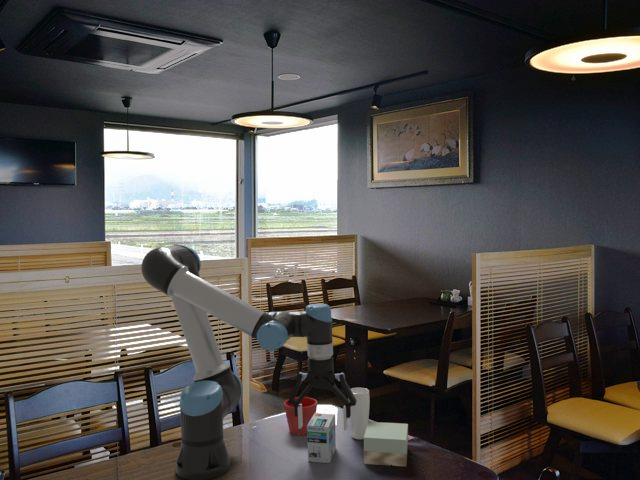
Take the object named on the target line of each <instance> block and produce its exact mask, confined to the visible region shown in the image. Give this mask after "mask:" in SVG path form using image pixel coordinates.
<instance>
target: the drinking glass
mask: <svg viewBox="0 0 640 480" xmlns="http://www.w3.org/2000/svg"><path fill="white" fill-rule="evenodd" d="M350 389H351V391H352V393H353V395H354V397H355V398H356V401H357V402H356V405H355V406H351V416H350V418H349V423H350V436H351V438H353V439H355V440H364V435H365V432H366V428H367V425H368V422H369V418H370V417H369V416H370V404H371V403H370V390H369V389H368V388H365V387H352V388H350ZM347 399H348V400H349V398H348V397H347ZM349 401H350V400H349Z"/></svg>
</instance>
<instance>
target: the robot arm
mask: <svg viewBox="0 0 640 480" xmlns="http://www.w3.org/2000/svg"><path fill="white" fill-rule="evenodd" d="M201 263H202V262H201V259H200V256H199V254H198V252H197V251H195V250H194V249H193V248H192V247H190V246H187V245H185V244H184V245H182V244H173V245H168V246H162V247H161V246H159V247H156V248H153V249H151V250H150V251H148V252H147V253H146V254H145V256H144V257H143V260H142V262H141V267H140V269H141V274H142V277H143V279H144V280H145V282H146V283H147V284H148V285H150V286H151V287H153V288H154V289H156V290H157V291H159V292H160V293H163V294H164V295H166V296H168V297H170V299H171V301H172V304H173V307H174V309H175V313H176V315H177V319H178V321H179V324H180V327H181V330H182V333H183V336H184V339H185V341H186V344H187V348H188V351H189V355H190V356H191V360H192V363H193V366H194V369H195V374H194V376H193V378H192V379H193V381H194V383H193V382H191V383H190V384H189V385H186V386H185V387H184V388H182V389H183V390H182V391H181V392H180V395H179V397H180V398H179V409H180V410H179V413H180V435H181V443H180V444H181V445H180V448H179V452H178V454H177V458H176V460H175V461H176V462H175V473H176V475H177V476H178V477H179V478H181V479H184V480H212V479H215V478H217V477H220V476H223V475H224V474H226V473H227V472H228V471H229V469H230V467H231V455H230V453H229V451H228V448H227V445H226V441H225V440H224V419H225V418H226V417H227V416H228V414H230V412H232V411H233V410H234V409H235V408H236V407H237V406H238V405H239V403H240V401H241V399H242V397H243V393H244V392H243V391H244V390H243V388H244V387H243V384H242V380H241V379H240V377H239V376H238V375H237V373H234V372H233V371H232V367H231V365H230V363H227V362H225V361H224V360H223V357H222V354H221V351H220V348H219V345H218V342H217V340H216V336H215V333H214V330H213V327H212V324H211V322H210V319H209V315H211V316H213V317H215V318H216V319H218V320H220V321H222V322H224V323H226V324H227V325H229V326H231V327H232V328H233V327H234V328H235V329H237V330H238V331H241V332H242V333H244V334H246V335H248V336H250V337H252V338H254V339H255V340H256V342H257V343H258V345H259V346H260V348H262V350H265V351H267V352H268V351H270V352H271V351H276V350H279V349H280V348H282V347H283V346H284V345H285V344H286V343H287V341H289V340H290V339H291V338H306V343H307V345H306V346H307V357H308V358H307V373H304V372H303V371H300V372H298V374H297V380H296V383H295V385H294V388H293V390H292V392H291V394H290V395H289V398H288V399H289V400H288V399H287V400H288V404H292V405H294V411H295V417H298V429H301V428H302V426H303V418H302V404H299V403H300V402H301V401H302V400H303V398H304V397H307V395H308V394H309V392H310V391H311V390H312V389H313V388H314V389H315V390H319V389H320V390H321V389H322V390H326V389H329V390H330V391H331V392H332V393H333V394H334V395H335V396H336V397H337V399H338V400H339V401H340V402H341V403H342V405H343V407H342V408H343V409H342V411H343V430H344V431H347V429H348V425H349V424H348V419H350V416H351V406H355V405H356V402H357V401H356V398H355V397H354V395H353V393H352V391H351V389H352V388H351V387H350V386H349V384H348V382H347V380H346V375H345V372H344V371H341V373H335V370H334V357H333V355H334V343H333V318H332V309H331V306H330V305H328V304H327V303H310V304H308V305H306V306H305V310H304V311H282V310H278V311H270V312H268V313H266V312H265V311H263V310H261V309H259V308H258V307H255V306H254V305H252V304H250V303H248V302H246V301H245V300H242V299H241V298H238V297H237V296H235V295H233V294H231V293H229V292H227V291H226V290H224V289H222V288H220V287H219V286H216V285H214V284H212V283H211V282H210V281H207V280H205V279H204V278H201V276H200V270H201V268H202V267H201V265H202V264H201ZM306 379H307V380H308V382H309V383H308V385H307V386H306V387H305V388H304V390H303V391H302V393H301V394H300V395H299V396H297V397H298V399H297V400H295V399H294V398H296V395H297V394H298V391H299V389H300V387H301V384H302V383H303V381H305V380H306ZM335 379H336V380H337V381H338V382H340V385H341V387H342V389H343V391H344V393H345V394H346V395H345V394H344V393H343V392H342V391H341V389H339V387H338V386H337V385H336V382H334V381H335ZM346 396H347V397H346ZM348 398H349V400H350V401H349V400H348Z"/></svg>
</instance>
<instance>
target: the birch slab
mask: <svg viewBox="0 0 640 480" xmlns="http://www.w3.org/2000/svg"><path fill="white" fill-rule="evenodd" d="M407 460H408V452H407V453H406V454H399V453H384V452H369V451H364V450H363V464H364V465H378V466H391V465H392V466H393V467H394V466H395V467H407V463H408V462H407Z"/></svg>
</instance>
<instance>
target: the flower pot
mask: <svg viewBox="0 0 640 480" xmlns="http://www.w3.org/2000/svg"><path fill="white" fill-rule="evenodd" d="M298 397H299V396H297V397H296V396H295V398H294V399H295V400H297V399H298ZM288 400H289V398H288V399H286V400H284V403H283V406H284V411H285V412H284V413H285V415H286V416H285V417H286V420H287V421H286V422H287V426H288V430H289V433H291V434H292V435H297V436H305V435H307V425H308V423H309V422H310V420H311V418H312V417H313V415H314V413H317V407H318V400H317V399H315V398H312V397H308V396H305V397H304V398H303V400H302V401H301V402H300V403H299V404H302V418H303V426H302V428H301V429H298V417H295V411H294V405H292V404H288Z"/></svg>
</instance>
